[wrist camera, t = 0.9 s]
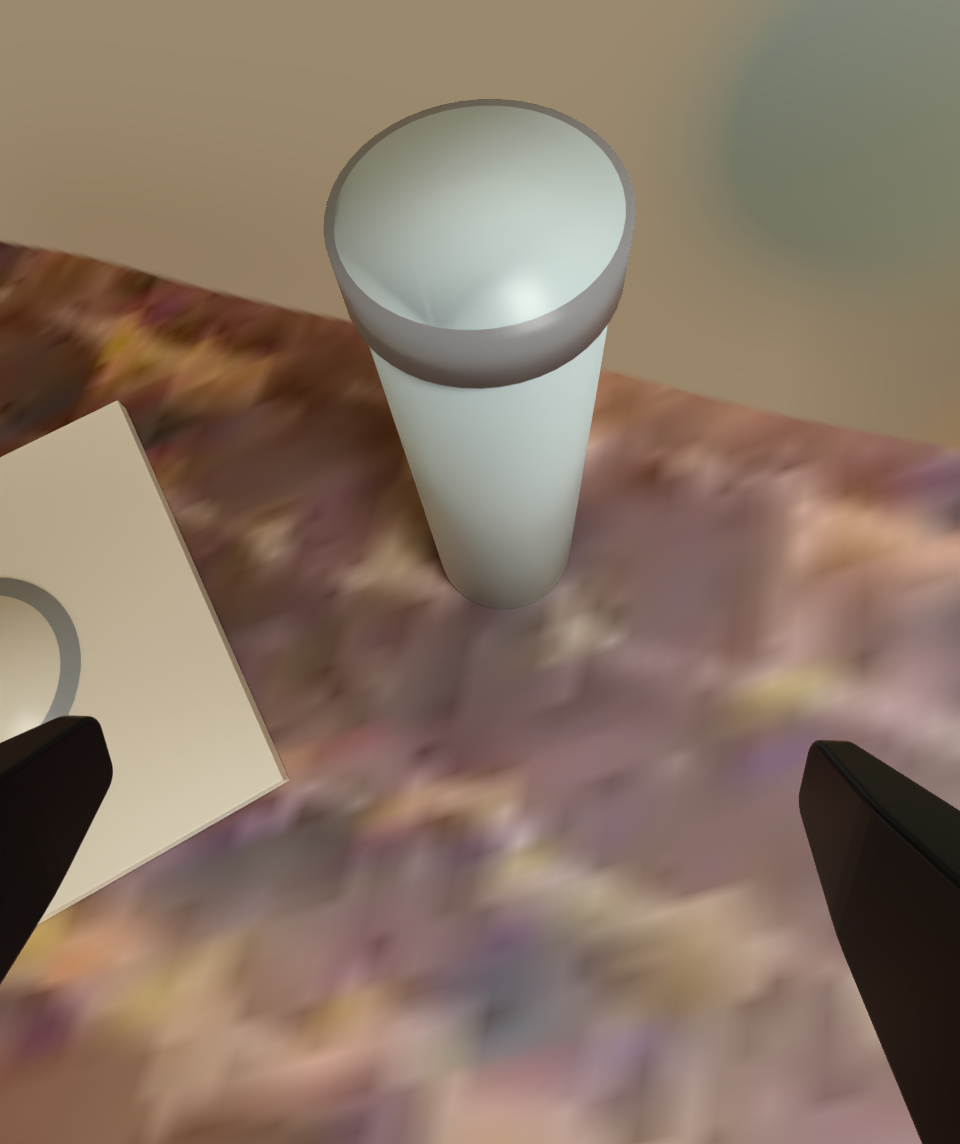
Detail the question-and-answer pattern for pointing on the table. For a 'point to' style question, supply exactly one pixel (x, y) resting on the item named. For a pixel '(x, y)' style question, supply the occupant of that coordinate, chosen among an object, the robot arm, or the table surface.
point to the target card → (121, 646)
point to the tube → (487, 320)
